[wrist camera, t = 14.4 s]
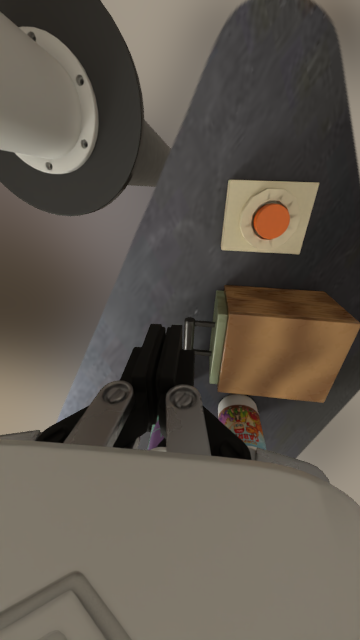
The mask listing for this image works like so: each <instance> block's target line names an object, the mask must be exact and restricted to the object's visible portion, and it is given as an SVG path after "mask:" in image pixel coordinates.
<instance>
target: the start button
mask: <svg viewBox="0 0 360 640" xmlns="http://www.w3.org/2000/svg"><path fill="white" fill-rule="evenodd" d="M289 222H290V215H289V212H288V210H287V209H286V208H285V207H284V206H282V205H279V204H274V203H270V204H266V205H264V206H262V207H261V208H260V209H259V210H258V211H257V213H256V214H255V217H254V222H253V224H254V228H255V230H256V232H257V233H258V234H259V235H260V236H262V237H263V238H266V239H274V238H277V237H279V236H281V235H282V234H283V233H284V232H285V231H286V229H287V228H288V226H289Z"/></svg>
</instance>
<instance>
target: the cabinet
mask: <svg viewBox="0 0 360 640" xmlns="http://www.w3.org/2000/svg"><path fill="white" fill-rule="evenodd" d="M224 292H225V299H226V305H227V311H228V320H227V326H226V333H225V339H224V346H223V353H222V359H221V366H220V372H219V379H218V384H217V387H218V388H217V389H218V392H225V393H234V394H244V395H254V396H264V397H274V398H283V399H293V400H303V401H313V402H323V403H324V401H325V399H326V397H327V395H328V393H329V391H330V389H331V387H332V385H333V382H334V380H335V378H336V376H337V374H338V372H339V370H340V368H341V366H342V364H343V362H344V360H345V357H346V355H347V353H348V351H349V349H350V347H351V345H352V343H353V341H354V339H355V337H356V335H357V333H358V330H359V328H360V323H359V322H358V321H357V320H356V319H355V318H354V317H353V316H352V315H350V314H349V313H348V312H347V311H346V310H345V309H344V308H342V307H341V306H340V305H339V304H338V303H337V302H336V301H334V300H333V299H332V298H331V297H330V296H329V295H328V294H326V293H325V292H322V291H307V290H292V289H277V288H262V287H247V286H232V285H224Z"/></svg>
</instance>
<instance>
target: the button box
mask: <svg viewBox="0 0 360 640" xmlns="http://www.w3.org/2000/svg"><path fill="white" fill-rule="evenodd" d="M318 186H319V183H316V182H285V181H255V180H229V181H228V188H227V197H226V206H225V215H224V223H223V232H222V241H221V249H222V250H231V251H249V252H266V253H284V254H300V250H301V247H302V243H303V240H304V236H305V232H306V229H307V225H308V222H309V218H310V215H311V211H312V208H313V204H314V200H315V197H316V193H317V190H318ZM270 203H274V204H279V205H282V206H284V207H285V208H286V209H287V210H288V212H289V215H290V222H289V226H288V228H287V229H286V231H285V232H284V233H283V234H282V235H281V236H279V237H277V238H274V239H266V238H263V237H262V236H260V235H259V234H258V233H257V232H256V230H255V228H254V224H253V222H254V217H255V214H256V213H257V211H258V210H259V209H260V208H261V207H262V206H264V205H266V204H270Z"/></svg>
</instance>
